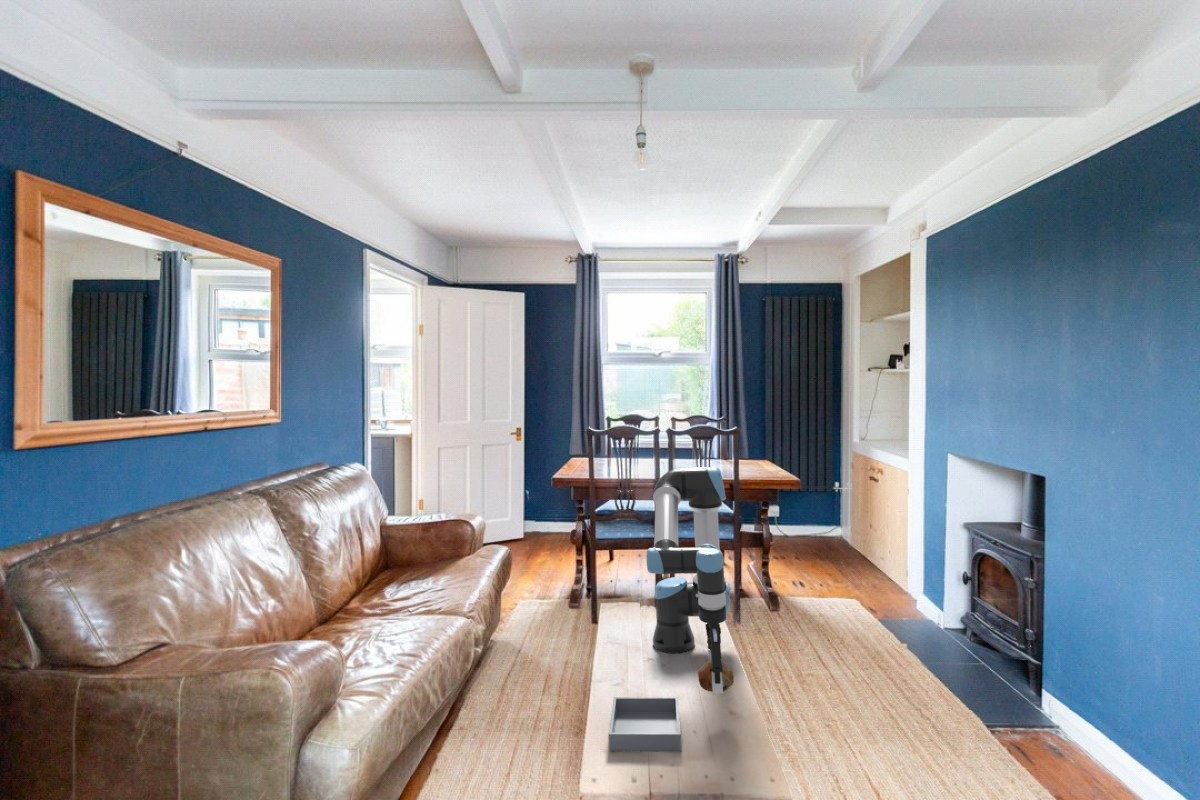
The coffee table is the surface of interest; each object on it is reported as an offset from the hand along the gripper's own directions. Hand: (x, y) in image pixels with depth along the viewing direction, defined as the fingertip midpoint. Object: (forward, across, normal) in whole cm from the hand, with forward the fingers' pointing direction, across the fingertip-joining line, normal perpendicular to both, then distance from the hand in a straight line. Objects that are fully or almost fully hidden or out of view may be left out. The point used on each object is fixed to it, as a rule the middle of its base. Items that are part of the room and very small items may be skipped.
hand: (715, 682), depth 168 cm
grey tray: (+10, +7, -20) cm, 23 cm away
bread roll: (+1, 0, 0) cm, 1 cm away
